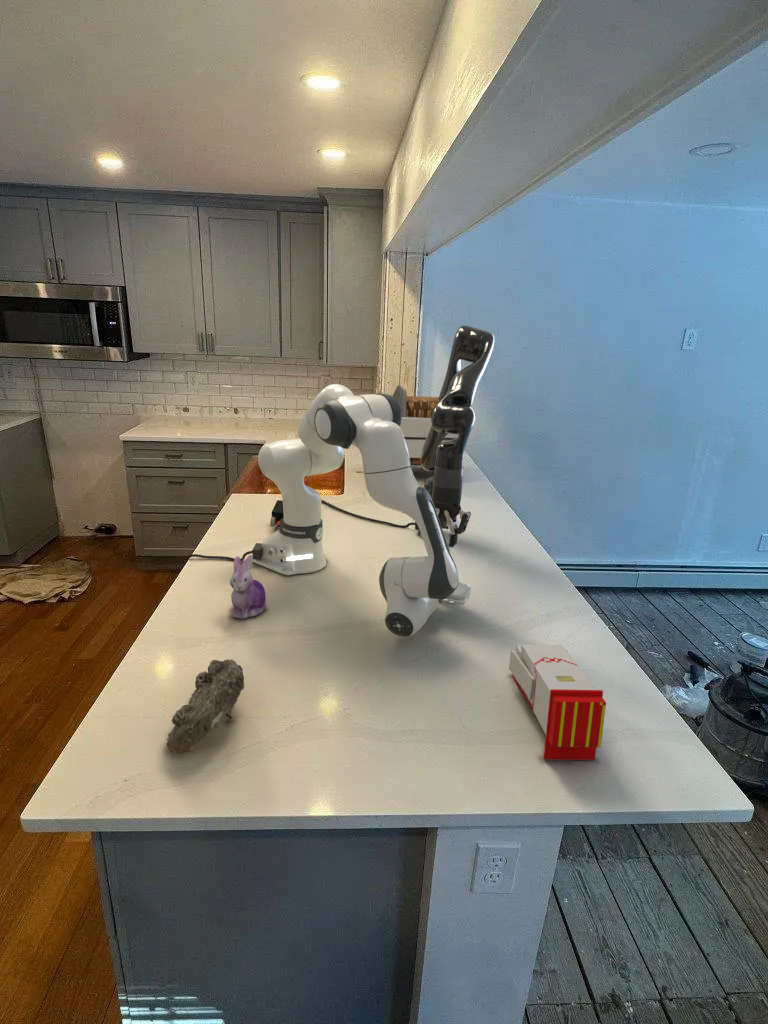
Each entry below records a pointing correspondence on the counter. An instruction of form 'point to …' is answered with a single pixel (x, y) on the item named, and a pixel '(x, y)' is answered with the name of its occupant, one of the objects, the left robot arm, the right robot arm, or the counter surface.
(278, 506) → the figurine character
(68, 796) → the counter surface
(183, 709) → the fossil
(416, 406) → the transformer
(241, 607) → the figurine
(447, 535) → the lid
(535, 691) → the toy
